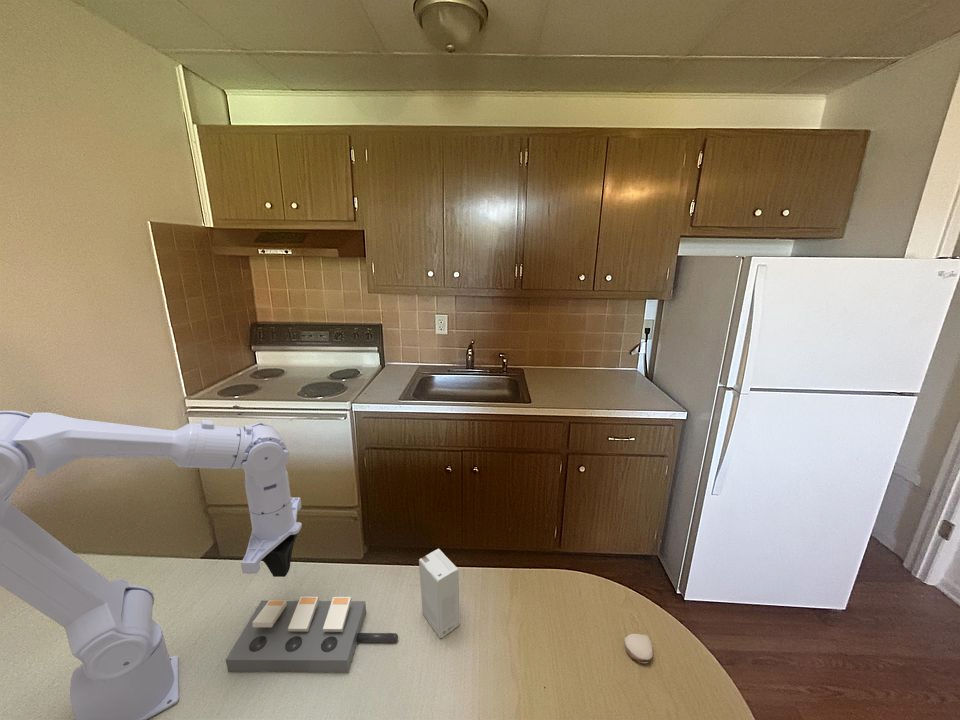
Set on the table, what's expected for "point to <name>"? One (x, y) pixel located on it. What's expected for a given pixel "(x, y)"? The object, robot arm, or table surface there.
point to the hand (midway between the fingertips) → (281, 573)
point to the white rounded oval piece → (639, 647)
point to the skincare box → (439, 592)
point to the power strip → (301, 643)
